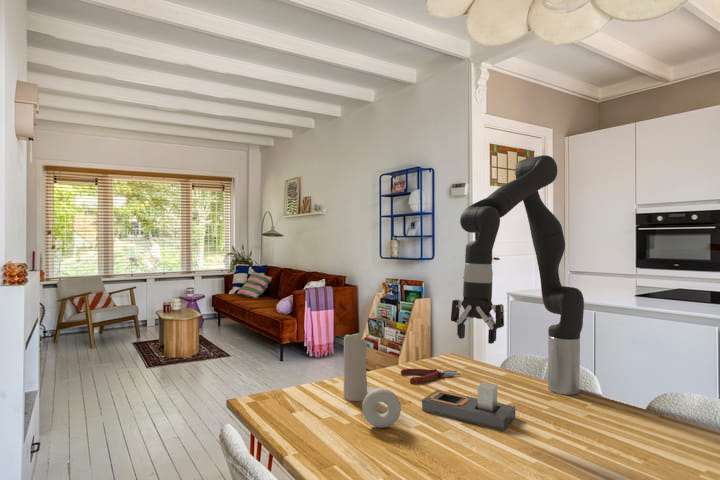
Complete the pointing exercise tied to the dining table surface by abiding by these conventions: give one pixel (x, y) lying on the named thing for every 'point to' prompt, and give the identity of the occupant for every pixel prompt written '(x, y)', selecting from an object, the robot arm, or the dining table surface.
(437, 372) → the pliers
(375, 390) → the donut
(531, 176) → the robot arm
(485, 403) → the steel block
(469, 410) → the rail
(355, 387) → the tall grey curved block
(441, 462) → the dining table surface
